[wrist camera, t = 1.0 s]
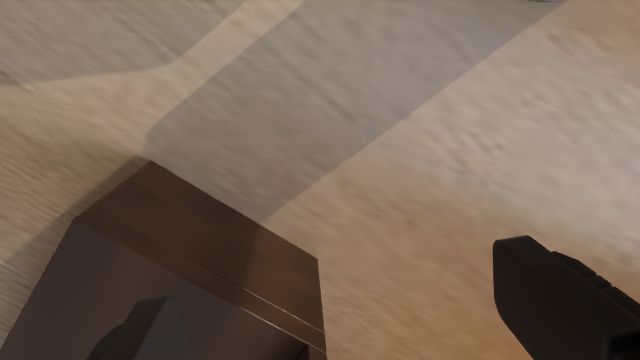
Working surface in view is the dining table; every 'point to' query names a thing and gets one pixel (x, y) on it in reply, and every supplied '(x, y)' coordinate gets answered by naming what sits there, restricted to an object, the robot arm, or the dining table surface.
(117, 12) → the dining table surface
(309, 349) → the shelf
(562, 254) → the robot arm
